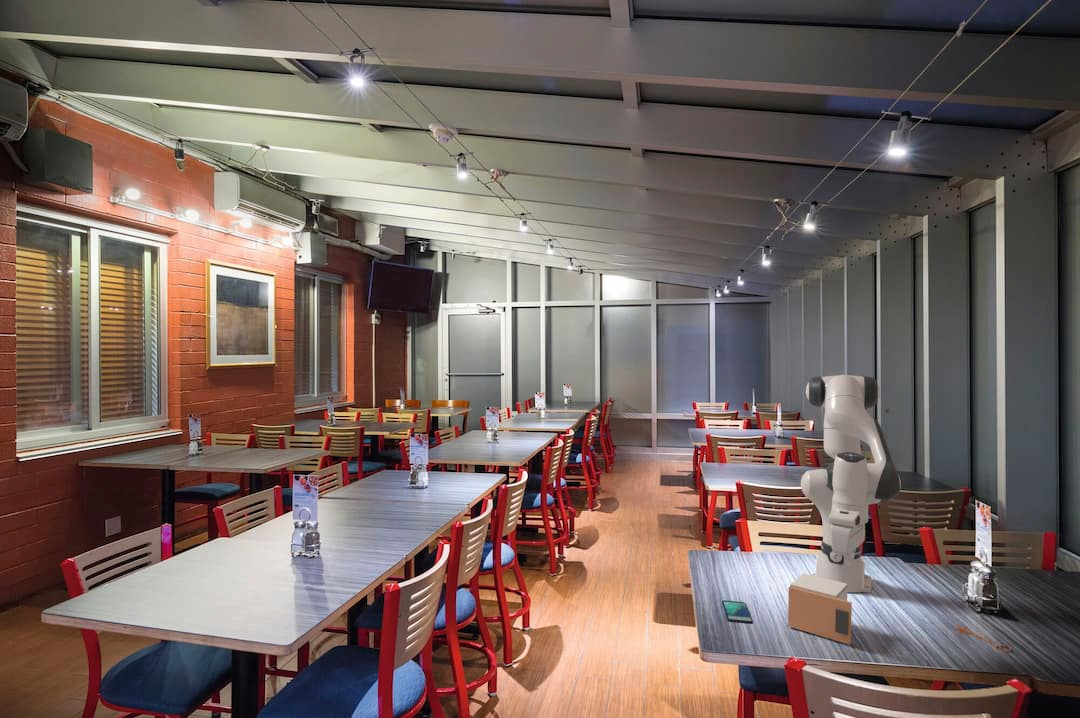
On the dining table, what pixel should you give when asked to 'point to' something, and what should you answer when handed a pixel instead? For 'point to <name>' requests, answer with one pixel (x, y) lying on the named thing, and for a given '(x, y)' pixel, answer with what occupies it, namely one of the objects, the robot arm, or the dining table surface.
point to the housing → (821, 586)
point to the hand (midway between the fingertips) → (848, 564)
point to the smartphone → (737, 612)
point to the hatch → (820, 614)
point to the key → (981, 638)
